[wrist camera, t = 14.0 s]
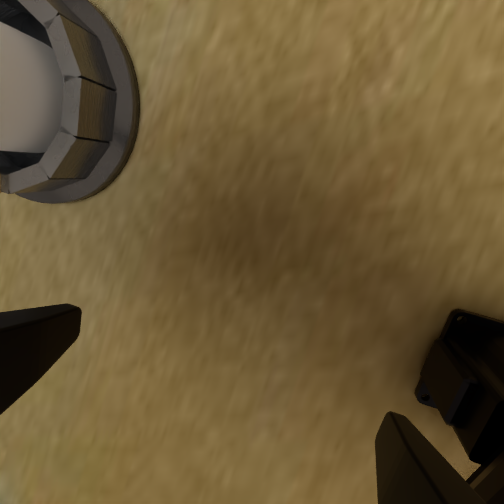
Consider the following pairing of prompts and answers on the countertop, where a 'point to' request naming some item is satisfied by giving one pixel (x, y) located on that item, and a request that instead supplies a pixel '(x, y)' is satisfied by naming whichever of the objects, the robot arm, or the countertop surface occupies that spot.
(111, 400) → the countertop surface
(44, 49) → the can
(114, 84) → the collar
